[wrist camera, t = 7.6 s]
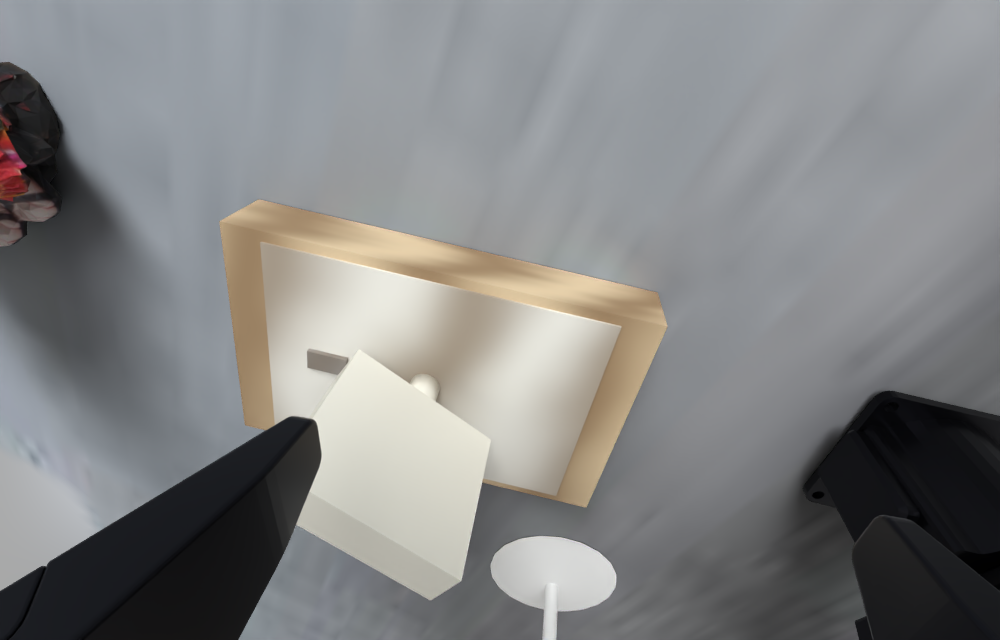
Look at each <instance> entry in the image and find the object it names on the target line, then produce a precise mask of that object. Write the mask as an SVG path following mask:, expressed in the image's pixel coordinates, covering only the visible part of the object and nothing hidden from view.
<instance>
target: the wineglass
mask: <svg viewBox="0 0 1000 640" xmlns="http://www.w3.org/2000/svg"><path fill="white" fill-rule="evenodd" d="M490 567H491V573H492V577H493V579H494V580H495V582H496V583H497V585H498V586H499V588H500V589H502V590H503V591H504V592H505V593H506V594H508V595H509V596H510V597H512V598H514V599H516V600H518V601H520V602H522V603H524V604H526V605H529V606H533V607H536V608H540V609H544V619H543V636H542V640H556V637H557V611H575V610H583V609H586V608H589V607H592V606H596V605H598V604H599V603H601V602H602V601H604V600H605V599H607V598H609V596H610V595H611V593H612V592H613V590H614V589H615V587H616V573H615V571H614V569H613V567H612V565H611V563H610V562H609V561H608V560H607V559H606V558H605V557H604V556H603V555H602V554H601V553H599V552H598V551H596V550H594V549H592V548H591V547H589V546H587V545H585V544H583V543H580V542H577V541H573V540H569V539H566V538H562V537H550V536H535V537H528V538H521V539H518V540H516V541H513V542H511V543H508V544H506V545H504V546H503V547H502V548H501V549H500V550H499V551H498V552H496V553H495V554H494V557H493V559H492V562H491V565H490Z"/></svg>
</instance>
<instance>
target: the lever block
mask: <svg viewBox="0 0 1000 640" xmlns="http://www.w3.org/2000/svg"><path fill="white" fill-rule="evenodd" d="M219 222H220V230H221V238H222V246H223V254H224V262H225V270H226V278H227V286H228V293H229V301H230V309H231V317H232V325H233V333H234V341H235V349H236V357H237V365H238V373H239V381H240V389H241V397H242V405H243V413H244V421H245V425H246V426H250V427H255V428H259V429H263V430H267V429H269V428H271V427H272V426H274V425H276V424H277V423H279V422H281V421H282V420H284V419H286V418H287V417H290V416H299V417H305V418H309V417H310V415H311V414H312V412H313V411H314V409H315V408H316V406H317V405H318V404H319V402H320V401H321V399H322V398H323V396H324V395H325V393H326V392H327V390H328V389H329V387H330V386H331V384H332V383H333V382H334V380H335V379H336V377H337V376H338V374H339V373H340V372H341V371H342V369H343V368H344V367H345V366H346V364H347V363H348V362H349V361H350V360H351V358H352V357H353V356H354V355H355V353H356V352H357V351H358V350H359V349H360V350H361V351H363V352H364V353H366V354H367V355H368V356H370V357H371V358H373V359H374V360H376V361H377V362H379V363H380V364H382V365H383V366H385V367H386V368H387V369H389V370H390V371H392V372H393V373H395V374H396V375H398V376H399V377H401V378H402V379H403V380H405V381H406V382H408V383H410V381H411V379H412V378H413V377H414V376H415V375H418V374H427V375H430V376H432V377H434V378H435V379H436V380H437V381H438V383H439V386H440V391H439V393H438V396H437V399H436V402H437V403H438V404H440V405H441V406H443V407H444V408H446V409H447V410H449V411H450V412H452V413H453V414H454V415H456V416H457V417H459V418H460V419H462V420H463V421H465V422H466V423H468V424H469V425H471V426H472V427H473V428H475V429H476V430H478V431H479V432H481V433H482V434H484V435H485V436H487V437H488V438H489V439H491V442H490V447H489V452H488V457H487V461H486V466H485V471H484V476H483V481H482V483H486V484H490V485H495V486H499V487H503V488H507V489H511V490H515V491H519V492H524V493H528V494H532V495H536V496H540V497H544V498H548V499H552V500H557V501H561V502H565V503H569V504H573V505H577V506H581V507H587V505H588V503H589V501H590V498H591V496H592V494H593V492H594V489H595V487H596V485H597V483H598V480H599V478H600V476H601V474H602V472H603V469H604V467H605V465H606V463H607V460H608V458H609V456H610V454H611V451H612V449H613V447H614V445H615V443H616V440H617V438H618V436H619V434H620V431H621V429H622V427H623V425H624V422H625V420H626V418H627V416H628V414H629V411H630V409H631V407H632V405H633V402H634V400H635V398H636V396H637V393H638V391H639V389H640V387H641V385H642V382H643V380H644V378H645V376H646V373H647V371H648V369H649V367H650V365H651V362H652V360H653V358H654V356H655V353H656V351H657V349H658V347H659V344H660V342H661V340H662V338H663V336H664V333H665V331H666V329H667V323H666V320H665V316H664V313H663V309H662V306H661V303H660V299H659V296H658V293H657V292H653V291H648V290H644V289H640V288H636V287H631V286H627V285H623V284H618V283H614V282H610V281H606V280H601V279H597V278H593V277H589V276H584V275H580V274H576V273H571V272H567V271H563V270H559V269H554V268H550V267H546V266H542V265H537V264H533V263H529V262H524V261H520V260H516V259H512V258H507V257H503V256H499V255H494V254H490V253H486V252H482V251H477V250H473V249H469V248H465V247H460V246H456V245H452V244H447V243H443V242H439V241H435V240H430V239H426V238H422V237H417V236H413V235H409V234H405V233H400V232H396V231H392V230H388V229H383V228H379V227H375V226H370V225H366V224H362V223H358V222H353V221H349V220H345V219H341V218H336V217H332V216H328V215H323V214H319V213H315V212H311V211H306V210H302V209H298V208H293V207H289V206H285V205H281V204H276V203H272V202H268V201H264V200H257V201H255V202H253V203H251V204H250V205H248V206H246V207H244V208H242V209H241V210H239V211H237V212H235V213H234V214H232V215H230V216H228V217H226V218H225V219H223V220H221V221H219Z"/></svg>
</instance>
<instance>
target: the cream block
mask: <svg viewBox="0 0 1000 640" xmlns="http://www.w3.org/2000/svg"><path fill="white" fill-rule="evenodd" d="M439 391H440V386H439V383H438V381H437V380H436V379H435V378H434V377H432V376H430V375H427V374H418V375H415V376H414V377H413V378H412V379H411V381H410V383H408V382H406V381H405V380H403V379H402V378H401V377H399V376H398V375H396V374H395V373H393V372H392V371H390V370H389V369H387V368H386V367H385V366H383V365H382V364H380V363H379V362H377V361H376V360H374V359H373V358H371V357H370V356H368V355H367V354H366V353H364V352H363V351H361V350H360V349H359V350H358V351H357V352H356V353H355V355H354V356H353V357H352V358H351V360H350V361H349V362H348V363H347V364H346V366H345V367H344V368H343V369H342V371H341V372H340V373H339V374H338V376H337V377H336V379H335V380H334V382H333V383H332V384H331V386H330V387H329V389H328V390H327V392H326V393H325V395H324V396H323V398H322V399H321V401H320V402H319V404H318V405H317V406H316V408H315V409H314V411H313V412H312V414H311V415H310V417H309V418H311V419H314V420H315V421H316V423H317V426H318V432H319V438H320V445H321V452H322V458H321V463H320V467H319V469H318V472H317V474H316V477H315V479H314V482H313V484H312V487H311V489H310V491H309V494H308V496H307V499H306V501H305V504H304V506H303V509H302V511H301V514H300V516H299V518H298V521H297V523H296V525H298V526H299V527H301V528H303V529H305V530H306V531H308V532H310V533H312V534H313V535H315V536H317V537H319V538H321V539H322V540H324V541H326V542H328V543H329V544H331V545H333V546H335V547H336V548H338V549H340V550H342V551H344V552H345V553H347V554H349V555H351V556H352V557H354V558H356V559H358V560H359V561H361V562H363V563H365V564H367V565H368V566H370V567H372V568H374V569H375V570H377V571H379V572H381V573H382V574H384V575H386V576H388V577H389V578H391V579H393V580H395V581H397V582H398V583H400V584H402V585H404V586H405V587H407V588H409V589H411V590H412V591H414V592H416V593H418V594H420V595H421V596H423V597H425V598H427V599H428V600H430V601H431V600H432V599H434V598H435V597H437V596H439V595H440V594H442V593H443V592H445V591H447V590H448V589H450V588H451V587H453V586H454V585H456V584H458V583H459V582H461V581H462V576H463V571H464V566H465V562H466V557H467V552H468V547H469V543H470V538H471V533H472V528H473V524H474V519H475V514H476V509H477V504H478V500H479V495H480V490H481V485H482V481H483V476H484V471H485V466H486V461H487V457H488V452H489V447H490V442H491V439H489V438H488V437H487V436H485V435H484V434H482V433H481V432H479V431H478V430H476V429H475V428H473V427H472V426H471V425H469V424H468V423H466V422H465V421H463V420H462V419H460V418H459V417H457V416H456V415H454V414H453V413H452V412H450V411H449V410H447V409H446V408H444V407H443V406H441V405H440V404H438V403H437V402H436V399H437V396H438V393H439Z"/></svg>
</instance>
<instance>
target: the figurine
mask: <svg viewBox="0 0 1000 640" xmlns="http://www.w3.org/2000/svg"><path fill="white" fill-rule="evenodd" d="M59 136H60V131H59V130H58V122H57V117H56V115H55V113H54V111H53V109H52V107H51V105H50V103H49V101H48V100H47V98H46V97H45V96H44V94H43V92H42V90H41V87H40V85H39V83H38V82H37V81H36V80H35V79H34V78H33V77H32V76H31V75H30V74H29V73H28V72H27V71H25V70H23V69H21V68H19V67H17V66H16V65H14V64H12V63H10V62H2V63H0V247H1V246H9V245H11V244H15V243H16V242H18V241H19V240H20V239H22V238H23V237H24V236H26V235H27V221H34V222H44V221H46V220H47V219H49V218H51V217H55V216H56V215H57V214H58V213H59V212H60V210H61V199H62V197H61V195H60V194H59V193H58V192H57V191H56V190H55V188H54V187H53V186H52V185H51V184H50V182H51V180H52V179H53V178H54V176H55V175H56V174H57V167H56V162H55V152H56V151H57V146H58V142H59Z"/></svg>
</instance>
